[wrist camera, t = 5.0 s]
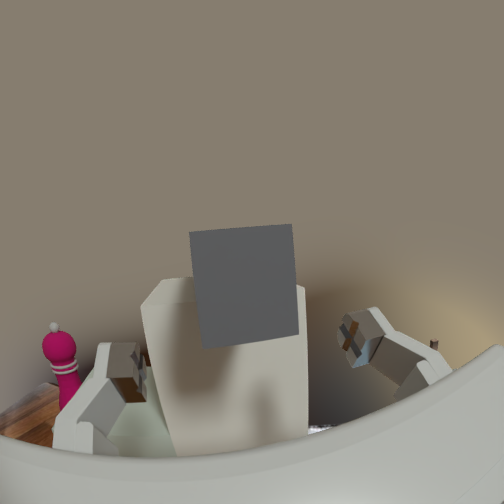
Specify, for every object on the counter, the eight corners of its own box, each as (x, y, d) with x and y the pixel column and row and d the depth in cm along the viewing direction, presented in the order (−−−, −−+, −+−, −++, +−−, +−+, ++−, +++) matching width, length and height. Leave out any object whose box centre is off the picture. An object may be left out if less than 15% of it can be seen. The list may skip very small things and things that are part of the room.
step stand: (304, 508, 20) (304, 287, 19) (112, 523, 16) (12, 312, 14) (271, 442, 34) (257, 269, 33) (125, 456, 29) (76, 286, 28)
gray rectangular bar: (298, 334, 10) (291, 224, 10) (202, 349, 9) (189, 231, 9) (226, 273, 31) (222, 238, 31) (195, 276, 31) (191, 240, 30)
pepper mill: (72, 418, 36) (40, 318, 35) (105, 416, 39) (77, 315, 38) (67, 440, 30) (27, 329, 29) (104, 438, 33) (68, 326, 32)
